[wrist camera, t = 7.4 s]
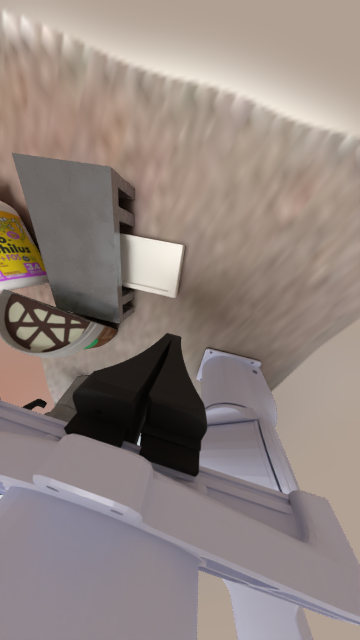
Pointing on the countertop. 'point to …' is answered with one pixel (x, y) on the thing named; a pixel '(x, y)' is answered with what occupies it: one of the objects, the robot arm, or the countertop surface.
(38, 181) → the shelf
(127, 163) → the countertop surface
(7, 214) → the supplement bottle
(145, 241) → the tray
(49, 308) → the food container
